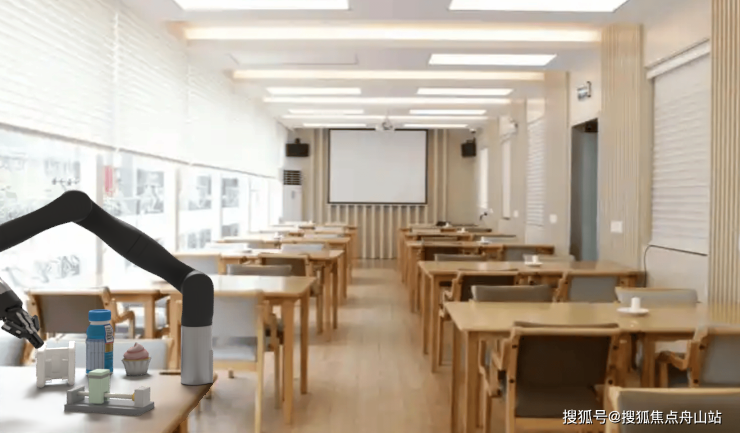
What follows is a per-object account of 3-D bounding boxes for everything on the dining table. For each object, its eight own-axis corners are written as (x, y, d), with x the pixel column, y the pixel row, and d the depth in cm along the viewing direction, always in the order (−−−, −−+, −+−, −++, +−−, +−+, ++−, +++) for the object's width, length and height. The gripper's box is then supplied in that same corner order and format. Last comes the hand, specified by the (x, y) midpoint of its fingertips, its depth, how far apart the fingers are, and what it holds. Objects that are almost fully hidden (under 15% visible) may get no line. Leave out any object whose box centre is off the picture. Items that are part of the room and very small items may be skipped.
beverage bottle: (87, 377, 231) (87, 313, 231) (83, 372, 238) (83, 309, 238) (116, 375, 235) (116, 311, 235) (111, 370, 242) (111, 308, 242)
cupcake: (119, 372, 239) (119, 340, 239) (149, 369, 243) (149, 338, 243) (122, 378, 231) (122, 345, 231) (153, 375, 235) (154, 343, 235)
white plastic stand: (74, 388, 218) (74, 348, 218) (34, 390, 214) (34, 350, 214) (75, 377, 232) (75, 339, 232) (38, 379, 228) (38, 341, 228)
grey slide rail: (64, 410, 193) (64, 387, 193) (82, 402, 201) (82, 380, 201) (138, 415, 189) (139, 392, 189) (154, 407, 197) (154, 384, 197)
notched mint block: (88, 402, 194) (88, 372, 194) (97, 399, 198) (97, 368, 198) (101, 403, 193) (101, 372, 193) (109, 399, 197) (110, 369, 197)
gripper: (-9, 291, 195) (33, 341, 192) (25, 286, 208) (64, 332, 205) (-27, 311, 196) (15, 360, 193) (8, 305, 209) (47, 351, 206)
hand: (40, 346), depth 199 cm, fingers closed
